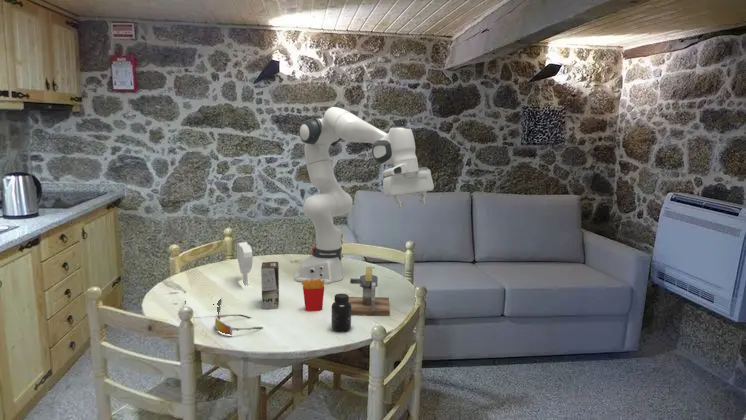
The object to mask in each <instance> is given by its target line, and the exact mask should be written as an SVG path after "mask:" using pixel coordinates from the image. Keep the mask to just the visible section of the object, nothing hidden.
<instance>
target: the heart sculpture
mask: <svg viewBox="0 0 746 420" xmlns="http://www.w3.org/2000/svg"><path fill="white" fill-rule="evenodd" d="M236 257H237V262H238V267H239V272H240V274H242V280H243V283H244V285H245V286H246V285H247V286H248V285H250V284H248V280H249V279H248V278H249V277H248V274H249V273H250V272H251V270H252V267H253V250H252V246H251V245H250V244H248V242H247V241H244V242H242V241H241V242H237V243H236Z"/></svg>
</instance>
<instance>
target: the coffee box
mask: <svg viewBox="0 0 746 420" xmlns="http://www.w3.org/2000/svg"><path fill="white" fill-rule="evenodd" d="M260 272H261V274H260V275H261V309H262V310H269V309H271V310H272V309H276V310H277V309H279V305H280V276H279V275H280V272H279V261H265V262H264V261H263V262H261V269H260Z"/></svg>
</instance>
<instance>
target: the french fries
mask: <svg viewBox="0 0 746 420" xmlns="http://www.w3.org/2000/svg"><path fill="white" fill-rule="evenodd" d="M314 281H315V282H314ZM301 284H302V292H303V300H304V309H305V310H304V311H306V312H320V311H323V303H324V296H325V295H324V293H325V284H324V280H323V281H322V282H321V280H320V279H315V280H314V279H310V281H309V282H308V280H305V281H302V282H301Z"/></svg>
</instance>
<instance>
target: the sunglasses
mask: <svg viewBox="0 0 746 420" xmlns="http://www.w3.org/2000/svg"><path fill="white" fill-rule="evenodd" d="M226 317H242V318H245V319H250V318H251V319H252V317H251V316H248V315H244V314H241V313H238V314H237V313H235V314H233V313H232V314H228V313H227V314H220V315H219V314H218V315H216V316H215V322H214V325H215V326H214V327H215V330H216V329H217V332H218V331H220V332H222V333H225V334H230V335H232V336H233V331H237V332H238V331H243V330H245V331H251V330H262V329H263V328H264V326H252V327H236V326H235V327H233V326H231V325H230V324H229V325H228V324H227V323H226V322H224V321H222V320H221V318H226ZM261 328H262V329H261Z"/></svg>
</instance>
